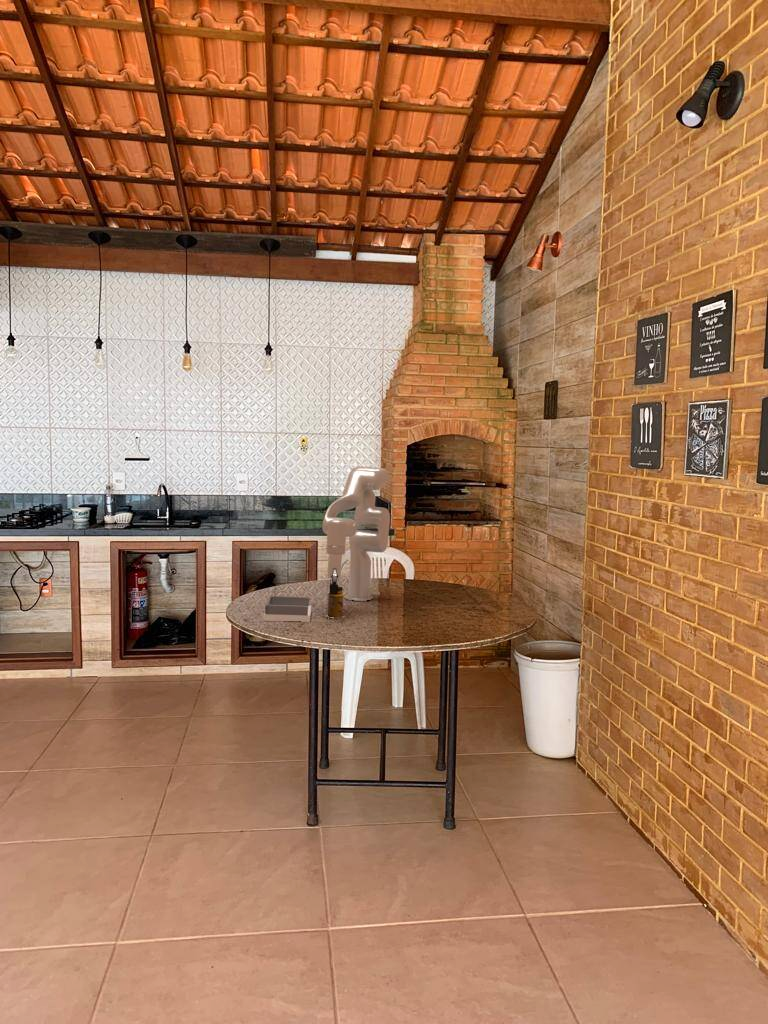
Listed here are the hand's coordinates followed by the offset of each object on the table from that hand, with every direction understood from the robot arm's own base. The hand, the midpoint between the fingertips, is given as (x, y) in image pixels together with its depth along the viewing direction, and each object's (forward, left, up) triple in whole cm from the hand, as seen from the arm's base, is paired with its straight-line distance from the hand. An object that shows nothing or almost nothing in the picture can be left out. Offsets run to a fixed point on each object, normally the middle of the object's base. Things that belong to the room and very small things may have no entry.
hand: (333, 592), depth 281 cm
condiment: (0, -1, -10) cm, 10 cm away
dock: (+18, +1, -10) cm, 20 cm away
